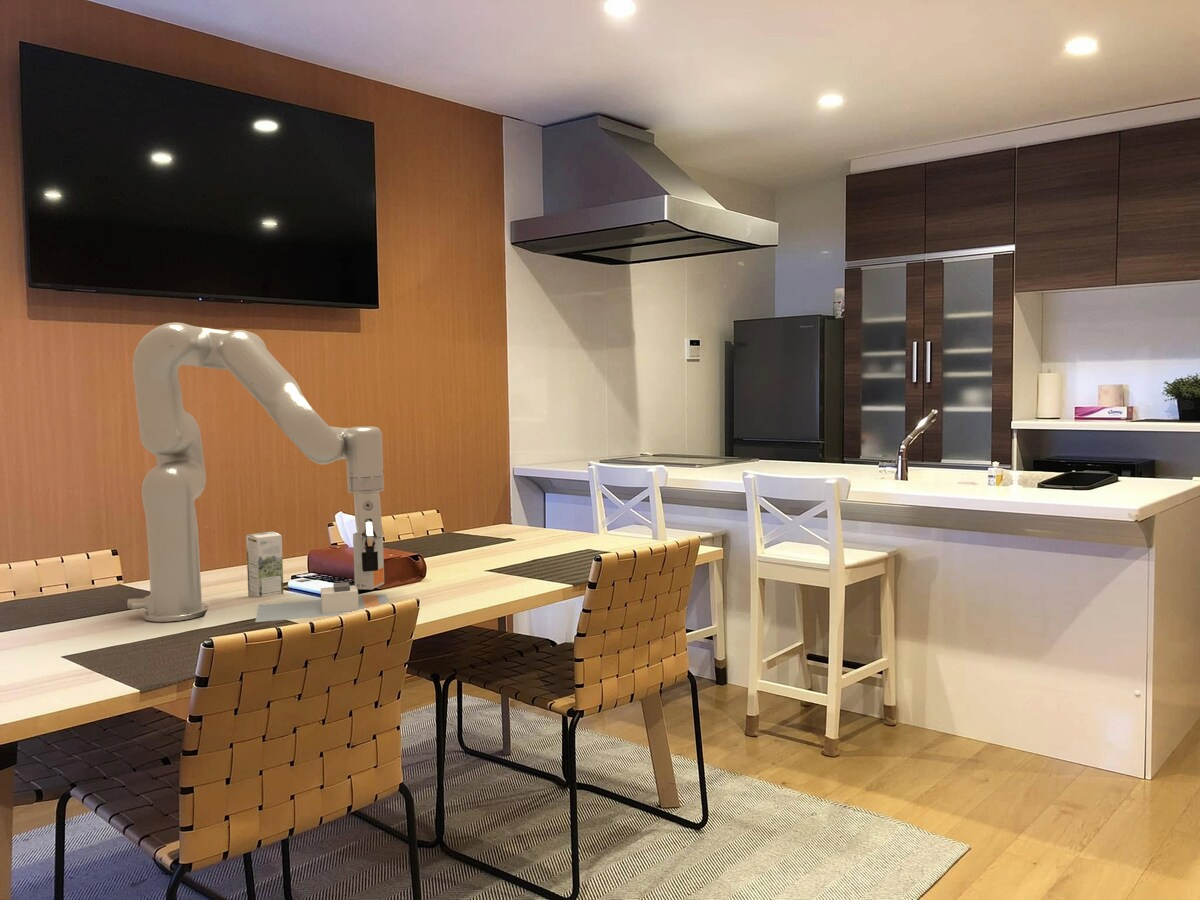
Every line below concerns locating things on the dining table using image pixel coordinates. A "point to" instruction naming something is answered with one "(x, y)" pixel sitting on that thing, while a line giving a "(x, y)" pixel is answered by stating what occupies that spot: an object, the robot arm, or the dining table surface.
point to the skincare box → (370, 577)
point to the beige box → (339, 598)
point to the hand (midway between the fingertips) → (369, 566)
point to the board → (309, 608)
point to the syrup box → (264, 564)
